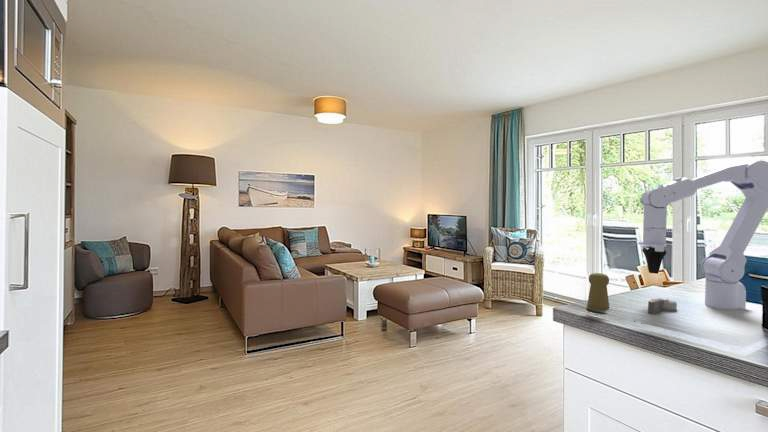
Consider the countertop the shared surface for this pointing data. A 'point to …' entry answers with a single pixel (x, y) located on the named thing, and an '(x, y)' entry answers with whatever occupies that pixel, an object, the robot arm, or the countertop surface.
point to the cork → (598, 292)
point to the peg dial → (661, 305)
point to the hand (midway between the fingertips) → (653, 273)
